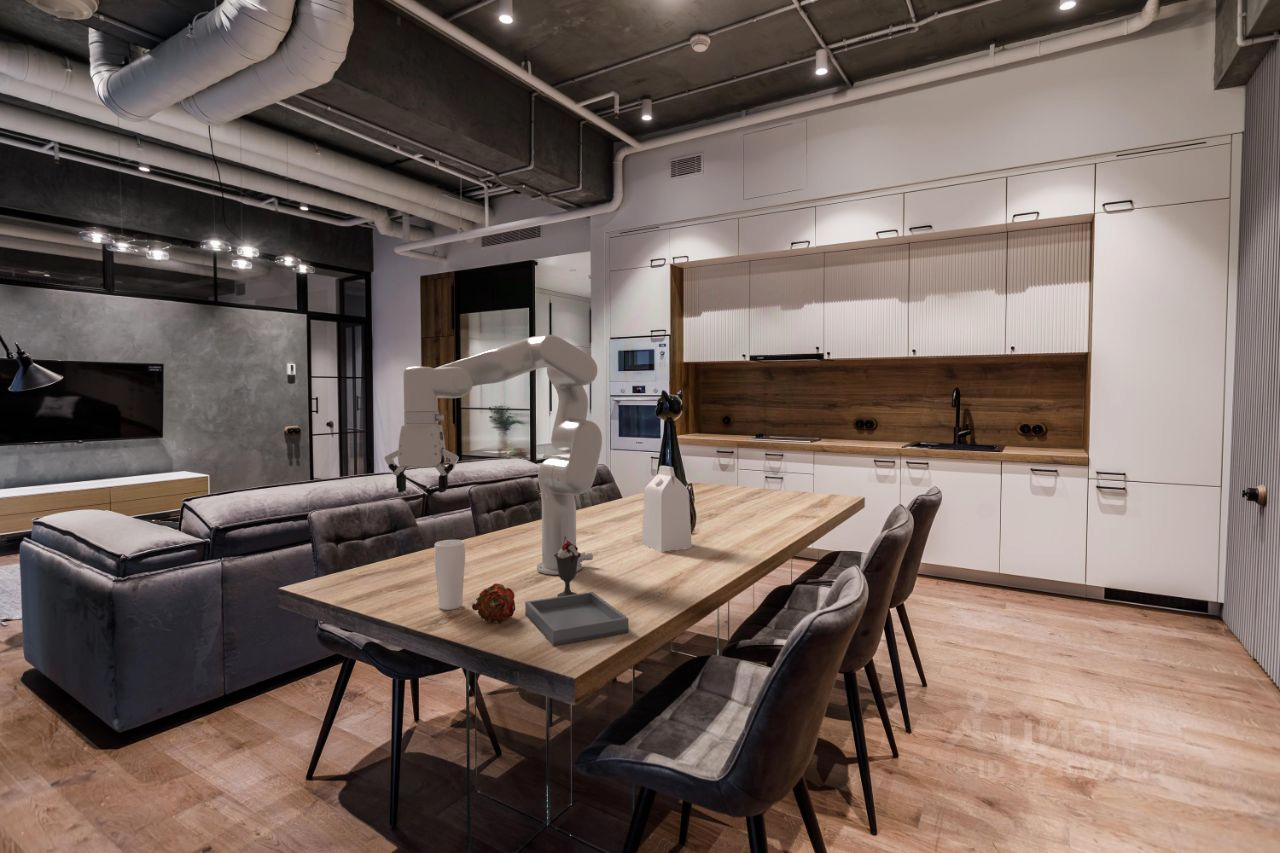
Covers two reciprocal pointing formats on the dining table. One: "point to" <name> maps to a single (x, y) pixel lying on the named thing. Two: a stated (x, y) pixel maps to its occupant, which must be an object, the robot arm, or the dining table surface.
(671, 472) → the milk
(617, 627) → the tray
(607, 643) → the dining table surface
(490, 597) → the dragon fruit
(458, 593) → the drinking glass
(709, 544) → the dining table surface
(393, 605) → the dining table surface
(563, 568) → the sundae
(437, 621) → the dining table surface
